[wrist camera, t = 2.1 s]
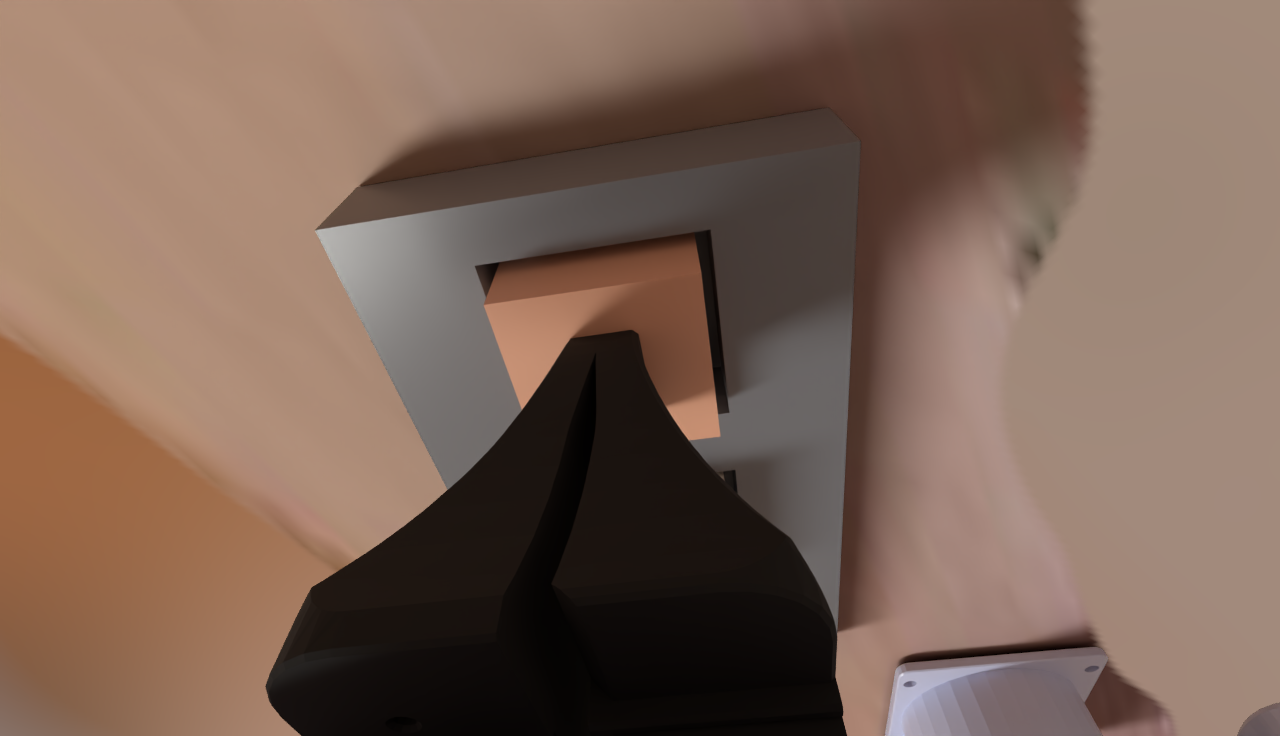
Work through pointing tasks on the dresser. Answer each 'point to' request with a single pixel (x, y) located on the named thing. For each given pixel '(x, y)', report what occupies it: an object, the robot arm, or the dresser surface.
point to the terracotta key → (612, 318)
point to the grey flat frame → (625, 212)
